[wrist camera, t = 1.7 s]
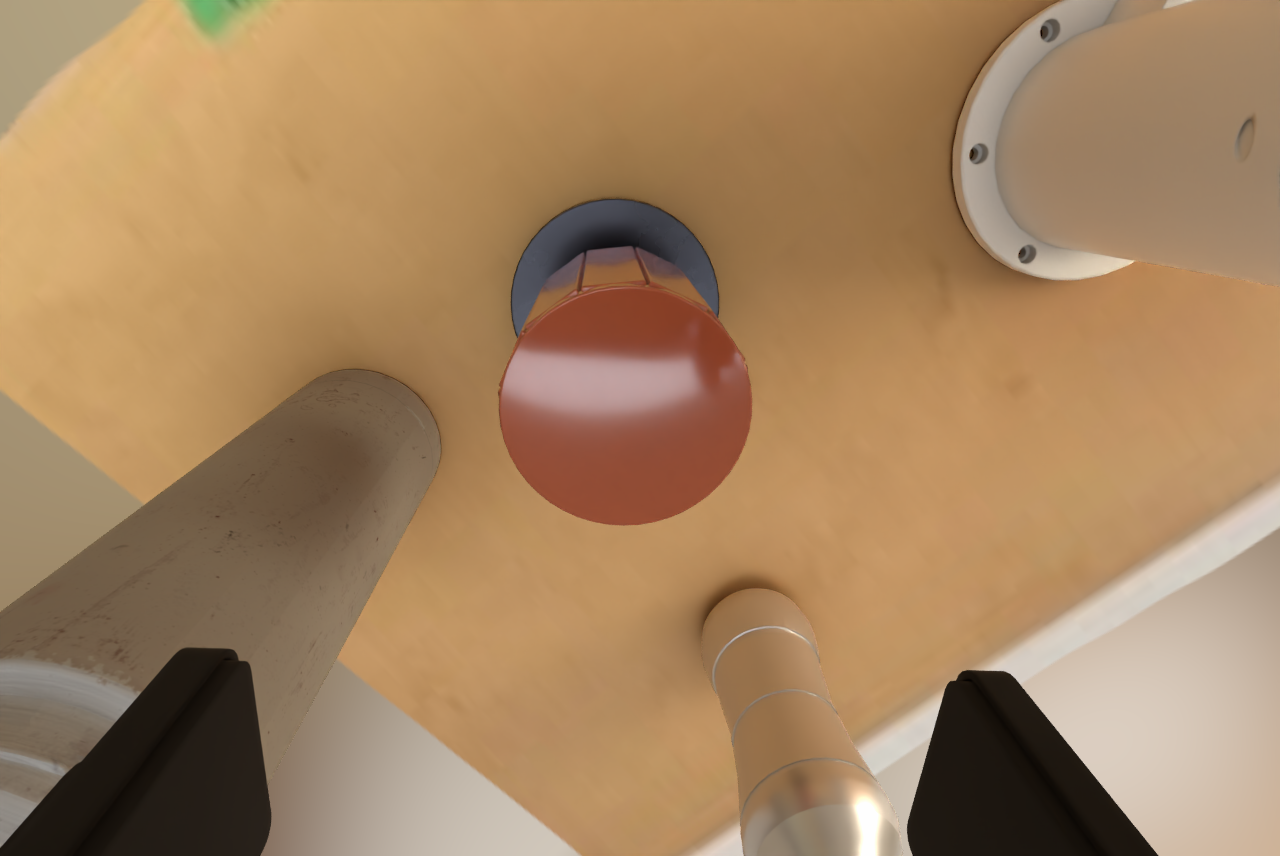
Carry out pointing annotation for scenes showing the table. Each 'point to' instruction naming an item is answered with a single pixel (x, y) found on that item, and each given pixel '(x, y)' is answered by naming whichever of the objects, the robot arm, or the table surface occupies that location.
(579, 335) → the cup
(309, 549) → the thermos bottle
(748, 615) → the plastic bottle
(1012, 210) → the robot arm
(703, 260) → the bowl
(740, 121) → the table surface
